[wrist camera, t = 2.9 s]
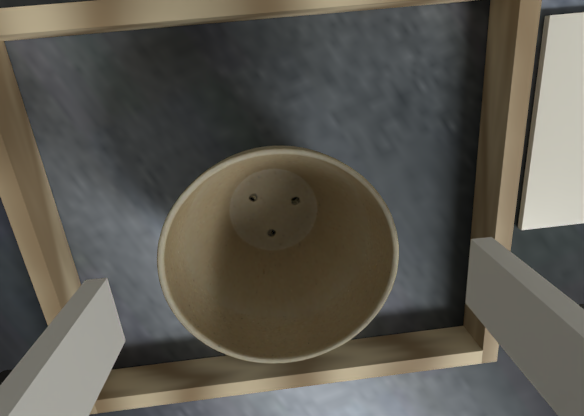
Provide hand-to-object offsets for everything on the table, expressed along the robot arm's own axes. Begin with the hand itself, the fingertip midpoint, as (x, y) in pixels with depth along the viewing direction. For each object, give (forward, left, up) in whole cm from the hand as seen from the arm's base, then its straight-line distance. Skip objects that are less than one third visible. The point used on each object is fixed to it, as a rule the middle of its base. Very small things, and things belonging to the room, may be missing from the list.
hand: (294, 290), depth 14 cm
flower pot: (0, 0, -9) cm, 9 cm away
